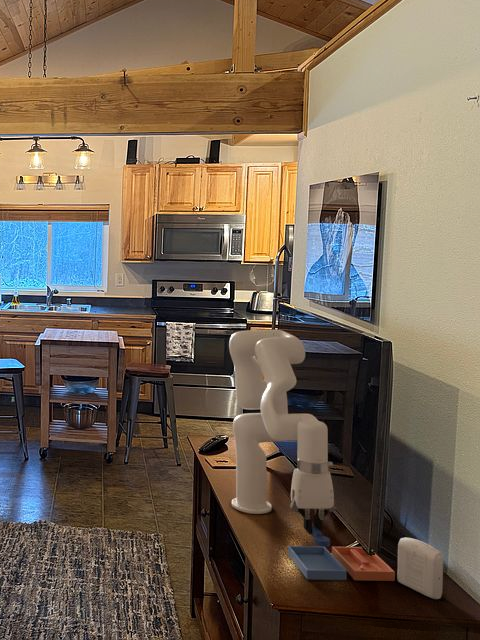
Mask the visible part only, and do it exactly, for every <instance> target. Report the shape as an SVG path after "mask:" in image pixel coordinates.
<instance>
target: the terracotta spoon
mask: <svg viewBox="0 0 480 640" xmlns="http://www.w3.org/2000/svg"><path fill="white" fill-rule="evenodd" d="M350 557H351V558H352V559H353V560H354V561H355V562H356V563H357V564H358V565H359V566H360V567H361V570H372V571H377V568H376V567H375V566H372V565H369V562H368V561H367V560H366V559H365V558H364V557H363V556H362V555H361V554H360V553H359V552H358V551H357V550H353V549H350Z"/></svg>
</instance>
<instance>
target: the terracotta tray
mask: <svg viewBox="0 0 480 640" xmlns="http://www.w3.org/2000/svg"><path fill="white" fill-rule="evenodd" d="M362 547H363V546H331V554H332V555H333V556H334V558H335V559H336V560H337V561H338V562H339V563H340V564H341V565H342V566H343V567H344V569H345V570H346V571H347V574H348V575H349V576H350V577H351V578H352V579H353V580H354V581H367V582H368V581H369V582H370V581H371V582H372V581H376V582H377V581H378V582H395V577H396V573H395V571H394V569H392V567H390V566H389V564H387V563H386V562H385V561H384V560H383V559H382V558H381V557H380V556H378V554H377V553H375V555H372V556H370V555H368V554H367V553H366V552H365V551H364V550H363V548H362ZM350 549H353V550H357V551H358V552H359V553H360V554H361V555H362V556H363V557H364V558H365V559H366V560H367V561H368V562H369V565H372V566H375V567H376V568H377V571H372V570H361V567H360V566H359V565H358V564H357V563H356V562H355V561H354V560H353V559H352V558H351V557H350Z"/></svg>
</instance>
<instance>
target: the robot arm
mask: <svg viewBox="0 0 480 640" xmlns="http://www.w3.org/2000/svg"><path fill="white" fill-rule="evenodd" d="M228 349H229V354H230V357H231V360H232V363H233V367H234V378H235V379H234V381H235V397H236V403H237V405H238V407H239V408H241V409H243V410H260V412H249V413H241V414H239V415H237V416H236V417H235V418H234V419H233V421H232V431H233V436H234V437H233V438H234V442H235V443H234V445H235V484H236V485H235V487H236V488H235V489H236V490H235V494H236V497H235V498H232V500H231V506H232V508H233V509H234V510H237V511H239V512H242V513H245V514H252V515H262V514H268V513H270V512H272V510H273V506H272V504H271V503H270V502H269V501H268V500H267V496H268V495H267V492H268V491H267V490H268V489H267V485H268V484H267V483H268V482H267V475H268V474H267V467H268V466H267V455H266V452H265V451H264V450H263V449H262V447H261V446H260V444H261V443H262V444H263V443H278V442H295V441H296V443H297V444H296V445H297V447H296V448H297V449H296V452H297V453H296V454H297V457H296V459H297V460H296V461H297V465H296V467H297V468H294V469H293V473H292V479H291V488H290V501H291V502H290V505H289V509H290V510H291V511H293V512H296V513H299V514H300V515H301V516H302V517H303V529H304V530H305V531H306V533H307V534H308V535H311V534H312V523H313V524H314V525H315V527H316V528H317V529H318V530H319V531H320V532H321V533H322V530H323V520H324V519H325V517H326V516H327V515H328V514H329V513H332V512H335V511H336V510H337V508H336V505H335V493H334V486H333V485H334V484H333V479H332V474H331V472H330V468H333V467H334V464H333V463H334V462H333V461H329V460H328V459H329V456H328V455H329V451H328V450H329V448H328V447H329V443H328V441H329V439H328V437H329V436H328V426H327V424H326V423H325V422H323V421H320V420H318V419H317V418H316V416H314V414H312V413H289V409H288V408H289V407H288V395H287V392H289V391H290V390H292V389H294V387H295V386H296V385H297V378H296V375H295V372H294V370H293V367H292V365H299V364H301V363H303V362H304V361H305V358H306V348H305V346H304V344H303V342H302V341H301V339H299V338H298V337H297V336H295V335H293V334H291V333H289V332H287V331H284V330H282V329H251V330H250V329H249V330H247V329H246V330H239V331H236V332H234V333H232V334H231V336H230V338H229V342H228ZM263 378H264V379H263ZM311 509H312V510H315V512H314V513H315V514H314V515H313V518H312V519H311Z"/></svg>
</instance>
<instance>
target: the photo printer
mask: <svg viewBox="0 0 480 640" xmlns="http://www.w3.org/2000/svg"><path fill="white" fill-rule="evenodd" d="M396 573H397V577H396V578H397V582H398V583H400V584H402V585H403V586H406V587H408V588H409V589H412V590H414V591H416V592H418V593H420V594H421V595H424V596H426V597H428V598H430V599H433V600H439V599H441V598H442V595H443V585H444V583H443V582H444V581H443V580H444V575H443V574H444V556H443V554H442V552H441V551H439V550H438V549H436V548H435V547H433V546H432V545H430V544H429V543H426V542H424V541H422V540H420V539H416V538H411V537H401V538H400V539H399V541H398V544H397V572H396Z"/></svg>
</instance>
